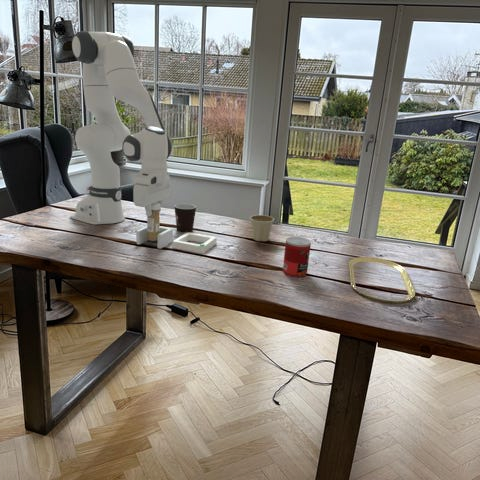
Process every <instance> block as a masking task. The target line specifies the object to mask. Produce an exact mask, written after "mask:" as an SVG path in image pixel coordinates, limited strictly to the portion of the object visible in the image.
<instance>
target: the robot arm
mask: <svg viewBox="0 0 480 480" xmlns="http://www.w3.org/2000/svg"><path fill="white" fill-rule="evenodd" d="M74 33H75V34H73V36H72V39H71V48H72V53H73V55H74V57H75V59H76V60H77V61H78V62H80V63H82V69H81V70H82V73H81V74H82V87H83V96H84V103H85V107H86V109H87V111H88V112H90V113H91V114H92V115H93V117H94V118H95V121H96V123H95V124H87V125H84V126H81V127H79V128H78V129H77V130H76V132H75V136H74V141H75V144H76V146H77V148H78V149H79V150H80V152H82V153H83V154H84V155H85V156H86V159H87V161H88V163H89V167H90V174H91V185H90V186H88V187H87V188H86V191H88V194H87V195H86V196H84V198H82V199H81V200H79V201H78V202H77V203H76V206H75V211H74V212H73V213H71V214H70V216H69V217H70V219H74V220H75V221H80V222H84V223H87V224H90V225H94V226H95V225H102V224H103V225H105V224H106V225H107V224H115V223H121V222H124V220H126V217H125V214H124V211H123V205H122V204H123V203H122V185H121V172H120V171H121V170H120V167H119V165H118V164H117V163H115V162H114V160H113V158H112V153H111V152H118V151H121V150H122V153H123V156H124V158H125V159H127V160H128V161H129V162H133V163H135V162H136V163H141V166H140V167H141V169H140V170H139V171H138V172H137V174H135V175H134V176H133V178H132V183H134V185H133V189H132V191H133V193H132V194H133V195H132V197H133V204H134V206H135V207H138V208H139V207H140V208H144V209H145V215H146V217H147V216H151V215H152V214H153V211H152V210H151V204H153V203H155V202H157V203H160V212H161V208H162V205H163V203H164V199H167V198H169V197H171V196H172V191H173V190H172V189H173V188H172V180H171V179H172V178H170V174H169V173H168V164H167V160H168V159H169V157H170V156H171V153H172V151H173V144H172V141H171V139H170V138H169V136H168V134H167V131H166V129H165V127H164V124H163V122H162V120H161V116H160V114H159V111H158V108H157V107H156V106H157V105H156V104H155V101H154V99H153V97H152V95H151V93H150V92H149V91H148V90H147V89H146V88H145V86H144V85H143V83H142V81H141V78H140V76H139V74H138V69H137V66H136V62H135V60H134V56H135V46H134V43H133V41H132V40H131V38H130V37H129V36H127V35H124V34H121V33H118V34H117V33H113V32H108V31H87V30H82V31H77V32H74ZM116 99H117V100H119V101H121V102H122V103H126V105H129V106H131V107H133V108H135V109H136V110H137V111H139V113H141V116H142V117H143V121H144V122H145V126H144V128H142V130H141V131H139V132H136V133H133V134H131V130H130V129H129V127H127V126H126V125H125V124H124V123H123V121H122V119H121V117H120V115H119V112H118V109H117V105H116Z"/></svg>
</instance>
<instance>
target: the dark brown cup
mask: <svg viewBox="0 0 480 480" xmlns="http://www.w3.org/2000/svg"><path fill="white" fill-rule="evenodd" d="M173 207H174V215H175V225H176V226H175V227H176V232H179V233H182V234H185V233H187V232H189V233H193V230H194V223H195V218H196V217H195V216H196V212H197V206H196V205H195V204H191V203H177V204H175V205H174V206H173Z"/></svg>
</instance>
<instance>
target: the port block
mask: <svg viewBox="0 0 480 480" xmlns="http://www.w3.org/2000/svg"><path fill="white" fill-rule="evenodd" d="M188 241H192V242H188ZM217 241H218V239H217V237H216V236H211V235H205V234H199V233H194V232H187V233H183V234H182V235H180V236H179V237H177V238H176V239H174V240H173V242H171V243H172V245H171V246H172V249H179V250H182V251H188V252H193V253H199V254H204V253H206V252H207V251H209V250H210V249H211V248H212V247H214V246H215V245H217ZM193 242H198V243H200V244H198V243H193Z"/></svg>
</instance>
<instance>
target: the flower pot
mask: <svg viewBox="0 0 480 480" xmlns="http://www.w3.org/2000/svg"><path fill="white" fill-rule="evenodd" d="M249 219H250V222H251V229H252V231H251V232H252V239H253V240H254V241H255V242H268V241H269V240H270V239H269V238H270V233H271V229H272V226H273V223H274V221H275V218H274V217H272V216H270V215H265V214H254V215H251V216H250V217H249Z"/></svg>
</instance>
